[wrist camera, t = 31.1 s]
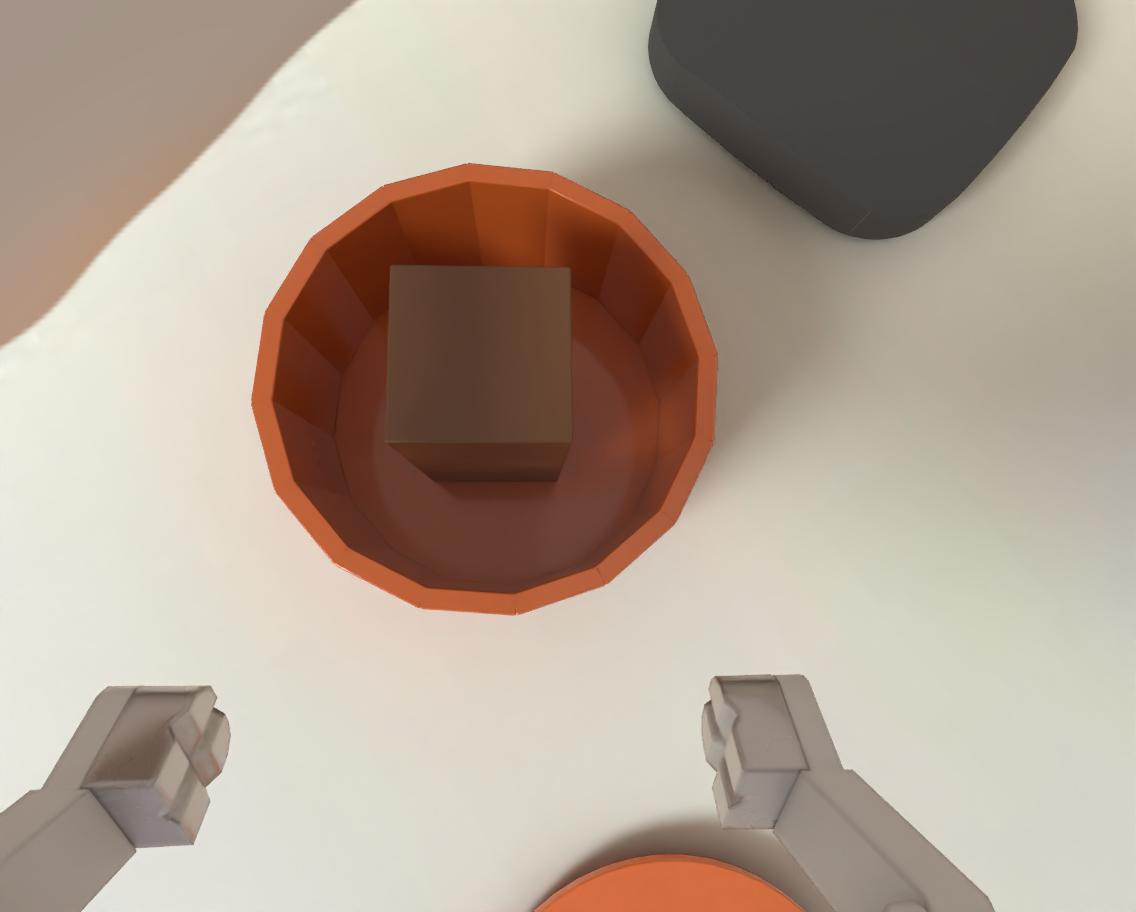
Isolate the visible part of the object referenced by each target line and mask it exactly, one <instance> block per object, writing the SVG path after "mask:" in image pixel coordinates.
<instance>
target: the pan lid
mask: <svg viewBox="0 0 1136 912" xmlns="http://www.w3.org/2000/svg"><path fill="white" fill-rule="evenodd" d="M533 912H806V911H805V910H804V909H803V908H802V907H801V906H800V905H799V904H797V903H796V902H795V901H794V900H792V899H791V898H790V897H789V896H787V895H786V894H785V893H784V892H782V891H781V890H780V889H778V888H777V887H775V886H774V885H772V884H770V883H769V882H767V881H765V880H764V879H762V878H760V877H759V876H757V875H755V874H753V873H750V872H748V871H746V870H744V869H741V868H739V867H737V866H734V865H732V864H728V863H725V862H721V861H717V860H714V859H710V858H706V857H698V856H691V855H683V854H664V855H649V856H643V857H636V858H630V859H626V860H623V861H619V862H616V863H613V864H610V865H606V866H603V867H601V868H599V869H597V870H594V871H592V872H590V873H588V874H586V875H584V876H582V877H579V878H577V879H576V880H574V881H573V882H571V883H570V884H568V885H567V886H565V887H563V888H562V889H560V890H559V891H557V892H556V893H554V894H553V895H552V896H551V897H549V898H548V899H547V900H546V901H545V902H544V903H542V904H541V905H540V906H539V907H538V908H536V909H535V910H534V911H533Z"/></svg>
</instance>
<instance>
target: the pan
mask: <svg viewBox="0 0 1136 912" xmlns="http://www.w3.org/2000/svg"><path fill="white" fill-rule="evenodd" d="M391 265H445V266H506V267H568V268H570V269H571V329H572V423H573V441H572V444H571V446H570V449H569V451H568V454H567V457H566V459H565V462H564V465H563V467H562V470H561V472H560V475H559V478H558V480H557V481H433V480H432V479H430V478H429V477H428V476H427V475H425V474H424V473H423V472H422V471H420V470H419V469H418V468H417V467H415V466H414V465H413V464H412V463H410V462H409V461H408V460H407V459H405V458H404V457H403V456H402V455H400V454H399V453H398V452H397V451H396V450H394V449H393V448H392V447H391V446H389V445H388V444H387V443H386V442H385V411H386V380H387V348H388V317H389V286H390V266H391ZM717 355H718V353H717V351H716V348H715V345H714V342H713V340H712V337H711V334H710V331H709V329H708V326H707V323H706V321H705V318H704V315H703V312H702V310H701V307H700V304H699V302H698V299H697V296H696V293H695V291H694V288H693V285H692V283H691V280H690V277H689V275H687V272H686V271H685V270H684V269H683V268H682V267H681V266H680V265H679V264H678V263H677V261H676V260H675V259H674V258H673V257H672V256H671V255H670V254H669V253H668V251H667V250H666V249H665V248H664V247H663V246H662V245H661V244H660V243H659V242H658V240H657V239H656V238H655V237H654V236H653V235H652V234H651V233H650V232H649V230H648V229H647V228H646V227H645V226H644V225H643V224H642V223H641V222H640V220H639V219H638V218H637V217H636V216H635V215H634V214H633V213H632V212H630V211H629V210H628V209H626V208H624V207H622V206H620V205H618V204H616V203H614V202H612V201H610V200H608V199H606V198H604V197H602V196H600V195H598V194H596V193H594V192H592V191H590V190H588V189H586V188H584V187H582V186H580V185H578V184H576V183H574V182H572V181H570V180H568V179H566V178H564V177H562V176H560V175H559V174H557V173H553V172H549V171H540V170H530V169H521V168H511V167H501V166H492V165H482V164H472V163H468V165H467V164H462V165H459V166H455V167H451V168H447V169H444V170H440V171H436V172H432V173H428V174H425V175H421V176H417V177H413V178H410V179H406V180H402V181H398V182H395V183H391V184H387V185H384V187H380V188H379V189H377V190H376V191H375V192H373V193H372V194H370V195H369V196H368V197H366V198H365V199H364V200H362V201H361V202H360V203H358V204H357V205H355V206H354V207H353V208H351V209H350V210H349V211H347V212H346V213H344V214H343V215H342V216H340V217H339V218H338V219H336V220H335V221H333V222H332V223H331V224H329V225H328V226H327V227H325V228H324V229H322V230H321V231H320V232H318V233H317V234H316V235H314V236H313V237H312V238H311V239H310V240H309V242H308V243H307V245H306V246H305V248H304V250H303V251H302V253H301V255H300V256H299V258H298V259H297V261H296V263H295V264H294V266H293V267H292V269H291V271H290V272H289V274H288V276H287V277H286V279H285V280H284V282H283V284H282V285H281V287H280V288H279V290H278V292H277V293H276V295H275V297H274V298H273V300H272V301H271V303H270V305H269V306H268V308H267V309H266V311H265V315H264V320H263V327H262V333H261V340H260V346H259V353H258V359H257V366H256V373H255V379H254V386H253V392H252V399H251V401H252V403H251V406H252V409H253V413H254V417H255V421H256V424H257V428H258V432H259V435H260V439H261V443H262V446H263V450H264V454H265V457H266V461H267V465H268V468H269V472H270V476H271V480H272V483H273V487H274V490H275V491H276V494H277V495H278V496H279V497H280V499H281V500H282V501H283V502H284V504H285V505H286V506H287V507H288V509H289V510H290V511H291V512H292V513H293V515H294V516H295V517H296V518H297V520H298V521H299V522H300V523H301V525H302V526H303V527H304V528H305V529H306V531H307V532H308V533H309V534H310V536H311V537H312V538H313V539H314V540H315V542H316V543H317V544H318V545H319V547H320V548H321V549H322V550H323V552H324V553H325V554H326V555H327V556H328V558H329V559H330V560H331V561H332V563H333V564H335V565H336V566H338V567H339V568H341V569H343V570H345V571H347V572H349V573H351V574H353V575H355V576H357V577H359V578H361V579H363V580H365V581H367V582H369V583H371V584H372V585H374V586H376V587H378V588H380V589H382V590H384V591H386V592H388V593H390V594H392V595H394V596H396V597H398V598H400V599H402V600H404V601H405V602H407V603H409V604H411V605H413V606H415V607H417V608H421V609H429V610H443V611H457V612H471V613H485V614H499V615H513V616H514V615H516V614H517V615H520V614H523V613H526V612H529V611H532V610H535V609H538V608H541V607H544V606H547V605H549V604H552V603H555V602H558V601H561V600H564V599H567V598H570V597H573V596H576V595H579V594H582V593H585V592H588V591H591V590H594V589H597V588H600V587H602V586H605V585H606V584H608V583H610V582H611V581H612V580H613V579H614V578H615V577H616V576H617V575H619V574H620V573H621V572H622V571H623V570H624V569H625V568H626V567H628V566H629V565H630V564H631V563H632V562H633V561H634V560H635V559H637V558H638V557H639V556H640V555H641V554H642V553H643V552H644V551H646V550H647V549H648V548H649V547H650V546H651V545H652V544H653V543H655V542H656V541H657V540H658V539H659V538H660V537H661V536H662V535H664V534H665V533H666V532H667V531H668V530H669V529H670V528H671V527H673V526H674V525H675V523H676V522H677V520H678V518H679V516H680V514H681V512H682V510H683V508H684V506H685V503H686V501H687V499H688V497H689V495H690V493H691V491H692V489H693V487H694V484H695V482H696V480H697V478H698V476H699V474H700V472H701V470H702V468H703V466H704V463H705V461H706V459H707V457H708V455H709V453H710V451H711V449H712V447H713V444H714V443H713V442H714V438H715V415H716V391H717V367H718V356H717Z"/></svg>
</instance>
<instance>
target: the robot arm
mask: <svg viewBox="0 0 1136 912" xmlns="http://www.w3.org/2000/svg"><path fill="white" fill-rule="evenodd" d="M709 693H710V697H711V700H710V701H709V702H707V703H706V704H704V709H703V713H702V740H703V747H704V752H705V757H706V761H707V762H708V763H709V764H710V766H711V767H712V768H713V769H714V770H715V771H716V772H717V774H716V777H715V780H714V784H713V787H712V789H713V794H714V798H715V802H716V807H717V811H718V816H719V820H720V824H721V829H774V830H773V833H774V834H775V835H776V837H777V838H778V839H779V841H780V842H781V843H782V844H783V846H784V847H785V848H786V850H787V851H788V852H789V853H790V855H791V856H792V857H793V858H794V860H795V861H796V862H797V864H798V865H799V866H800V867H801V869H802V870H803V871H804V873H805V874H806V875H807V876H808V878H809V879H810V880H811V882H812V883H813V884H814V885H815V887H816V888H817V889H818V890H819V892H820V893H821V894H822V896H823V897H824V898H825V899H826V901H827V902H828V903H829V905H830V906H831V907H832V908H833V910H834V911H835V912H995V910H994V908H993V906H992V904H991V902H990V900H989V898H988V896H986V895H985V894H984V893H983V892H982V891H981V890H980V889H979V888H978V887H977V886H976V885H975V884H974V883H973V882H972V881H970V880H969V879H968V878H967V877H966V876H965V875H964V874H963V873H962V872H961V871H960V870H959V869H958V868H957V867H956V866H955V865H953V864H952V863H951V862H950V861H949V860H948V859H947V858H946V857H945V856H944V855H943V854H942V853H941V852H940V851H939V850H937V849H936V848H935V847H934V846H933V845H932V844H931V843H930V842H929V841H928V840H927V839H926V838H925V837H924V836H923V835H922V834H920V833H919V832H918V831H917V830H916V829H915V828H914V827H913V826H912V825H911V824H910V823H909V822H908V821H907V820H906V819H904V818H903V817H902V816H901V815H900V814H899V813H898V812H897V811H896V810H895V809H894V808H893V807H892V806H891V805H890V804H889V803H887V802H886V801H885V800H884V799H883V798H882V797H881V796H880V795H879V794H878V793H877V792H876V791H875V790H874V789H873V788H872V787H870V786H869V785H868V784H867V783H866V782H865V781H864V780H863V779H862V778H861V777H860V776H859V775H858V774H857V773H856V772H854V771H853V770H845V769H843V767H842V764H841V762H840V759H839V757H838V754H837V752H836V749H835V747H834V744H833V741H832V739H831V736H830V734H829V731H828V729H827V726H826V724H825V721H824V719H823V716H822V713H821V711H820V708H819V706H818V703H817V701H816V698H815V696H814V693H813V691H812V688H811V686H810V683H809V681H808V680H807V679H806V678H805V676H804V675H800V674H795V675H771V674H768V675H739V676H715V677H714V678H712V679H711V682H710V686H709ZM216 700H217V696H216V694H215V692H214V691H213V689H212V687H211V686H108V687H107V688H105V689H104V690H103V691H102V692H101V693H100V694H99V695H98V696H97V697H96V698H95V700H94V701H93V703H92V705H91V706H90V708H89V710H88V711H87V713H86V715H85V716H84V718H83V720H82V721H81V723H80V725H79V727H78V728H77V730H76V732H75V733H74V735H73V737H72V738H71V740H70V742H69V743H68V745H67V747H66V748H65V750H64V752H63V753H62V755H61V757H60V758H59V760H58V762H57V763H56V765H55V767H54V768H53V770H52V772H51V773H50V775H49V777H48V778H47V780H46V782H45V783H44V785H43V787H42V788H41V790H30V791H29V792H28V793H26V794H25V795H24V796H22V797H21V798H20V799H19V800H17V801H16V802H15V803H13V804H12V805H11V806H10V807H8V808H7V809H6V810H4V811H3V812H2V813H1V814H0V912H81V911H82V910H83V909H84V908H85V907H86V905H87V904H88V903H89V902H90V901H91V900H92V899H93V898H94V897H95V896H96V895H97V894H98V893H99V891H100V890H101V889H102V888H103V887H104V886H105V885H106V884H107V883H108V882H109V881H110V880H111V879H112V877H113V876H114V875H115V874H116V873H117V872H118V871H119V870H120V869H121V868H122V867H123V866H124V865H125V863H126V862H127V861H128V860H129V859H130V858H131V857H132V856H133V855H134V854H135V853H136V849H135V848H146V847H164V846H181V845H193V844H194V842H195V839H196V837H197V834H198V831H199V829H200V826H201V824H202V821H203V819H204V816H205V813H206V811H207V808H208V806H209V803H210V799H209V796H208V793H207V790H206V786H207V785H209V784H210V783H211V782H212V781H213V780H214V779H215V778H216V777H217V776H218V775H219V774H220V773H221V772H222V769H223V766H224V764H225V761H226V758H227V755H228V749H229V743H230V736H231V735H230V727H229V722H228V719H227V717H226V715H225V714H224V713H223V712H221V711H219V710H218V709H216V708H214V705H215V702H216Z"/></svg>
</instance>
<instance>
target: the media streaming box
mask: <svg viewBox="0 0 1136 912" xmlns="http://www.w3.org/2000/svg"><path fill="white" fill-rule="evenodd" d="M1077 33H1078V21H1077V13H1076V8H1075V3H1074V0H657V4H656V8H655V12H654V17H653V21H652V25H651V29H650V34H649V44H648V50H649V59H650V64H651V68H652V71H653V74H654V76H655V79H656V81H657V83H658V85H659V87H660V88H661V90H662V91H663V93H664V94H665V95H666V97H667V98H668V99H669V100H670V101H671V102H672V103H673V104H674V105H675V106H676V107H678V108H679V109H680V110H681V111H682V112H683V113H684V114H685V115H687V116H688V117H689V118H690V119H691V120H692V121H694V122H695V123H696V124H697V125H698V126H699V127H701V128H702V129H703V130H704V131H705V132H706V133H708V134H709V135H710V136H711V137H712V138H714V139H715V140H716V141H717V142H718V143H720V144H721V145H722V146H723V147H724V148H726V149H727V150H728V151H729V152H731V153H732V154H733V155H734V156H735V157H737V158H738V159H739V160H740V161H742V162H743V163H744V164H745V165H747V166H748V167H749V168H751V169H752V170H753V171H754V172H756V173H757V174H758V175H759V176H761V177H762V178H763V179H765V180H766V181H767V182H769V183H770V184H771V185H773V186H774V187H775V188H777V189H778V190H779V191H781V192H782V193H783V194H785V195H786V196H787V197H789V198H790V199H791V200H793V201H794V202H795V203H797V204H798V205H800V206H801V207H802V208H804V209H805V210H806V211H808V212H809V213H811V214H812V215H813V216H815V217H816V218H818V219H819V220H821V221H822V222H823V223H825V224H826V225H828V226H829V227H831V228H832V229H835V230H837V231H839V232H841V233H844V234H847V235H850V236H854V237H859V238H865V239H887V238H893V237H898V236H901V235H905V234H907V233H910V232H912V231H914V230H916V229H918V228H920V227H921V226H923V225H924V224H925V223H927V222H928V221H929V220H931V219H932V218H933V217H934V216H935V215H937V214H938V213H939V212H940V211H941V210H942V209H944V208H945V207H946V206H947V205H948V204H950V203H951V202H952V201H953V200H954V199H956V198H957V197H958V196H959V195H960V194H961V193H962V192H963V191H964V190H965V189H966V187H967V186H968V185H969V184H970V183H971V182H972V181H973V180H974V179H975V178H976V177H977V176H978V175H979V173H980V172H981V171H982V170H983V169H984V168H985V167H986V166H987V165H988V163H989V162H990V161H991V160H992V159H993V158H994V157H995V155H996V154H997V153H998V152H999V151H1000V150H1001V149H1002V147H1003V146H1004V145H1005V144H1006V143H1007V141H1008V140H1009V139H1010V138H1011V137H1012V136H1013V134H1014V133H1015V132H1016V131H1017V129H1018V128H1019V127H1020V126H1021V124H1022V123H1023V122H1024V121H1025V119H1026V118H1027V117H1028V116H1029V114H1030V113H1031V112H1032V110H1033V109H1034V108H1035V106H1036V105H1037V104H1038V102H1039V101H1040V100H1041V99H1042V97H1043V96H1044V94H1045V93H1046V92H1047V90H1048V89H1049V87H1050V86H1051V85H1052V83H1053V82H1054V80H1055V79H1056V77H1057V76H1058V74H1059V73H1060V71H1061V70H1062V68H1063V67H1064V65H1065V64H1066V62H1067V60H1068V59H1069V57H1070V55H1071V54H1072V52H1073V50H1074V49H1075V45H1076V41H1077Z"/></svg>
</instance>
